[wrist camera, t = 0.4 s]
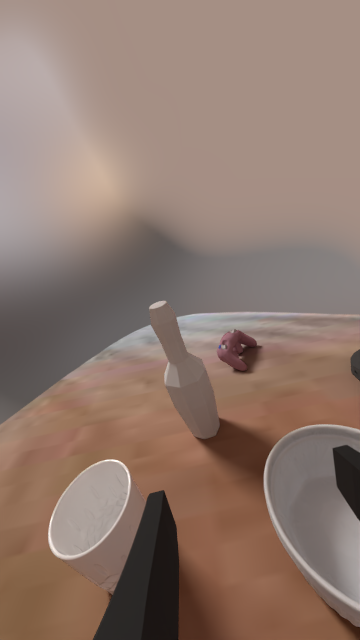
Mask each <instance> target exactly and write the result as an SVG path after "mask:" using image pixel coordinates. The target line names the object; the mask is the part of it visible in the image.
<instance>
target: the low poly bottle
mask: <svg viewBox="0 0 360 640" xmlns="http://www.w3.org/2000/svg"><path fill="white" fill-rule="evenodd" d="M149 309H150V318H151V326H152V328H153V329H154V331H155V333H156V335H157V337H158V338H159V340H160V342H161V344H162V346H163V349H164V351H165V353H166V356H167V358H168V360H169V361H168V365H167V368H166V371H165V374H164V377H165V386H166V388H167V390H168V393H169V395H170V397H171V399H172V401H173V404H174V406H175V408H176V409H177V411H178V412H179V414H180V415H181V417H182V418H183V420H184V421H185V423H186V425H187V426H188V428H189V429H190V431H191V432H192V434H193V435H194V436H195V437H198V438H201V439H207V438H210V437H213V436H216V434H217V431H218V429H219V427H220V423H219V417H218V412H217V407H216V402H215V397H214V391H213V388H212V386H211V383H210V380H209V377H208V374H207V371H206V368H205V366H204V364H203V361H202V359H200V358H198V357H196V356H194V355H192V354H190V353H188V352H187V350H186V347H185V345H184V342H183V339H182V337H181V334H180V330H179V327H178V323H177V319H176V316H175V313H174V311H173V310H172V309H171V307H170V306H169V304H168V303H167V302H166V301H160V302H157V303H154V304H153V305H151V306H150V307H149Z"/></svg>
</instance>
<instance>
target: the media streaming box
mask: <svg viewBox="0 0 360 640" xmlns="http://www.w3.org/2000/svg"><path fill="white" fill-rule="evenodd" d="M351 371H352V374H353V375H354V376H355V377H356V378H357V379H358V380H360V350H358V351H356V352H355V353H354V354H353V355H352V357H351Z"/></svg>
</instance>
